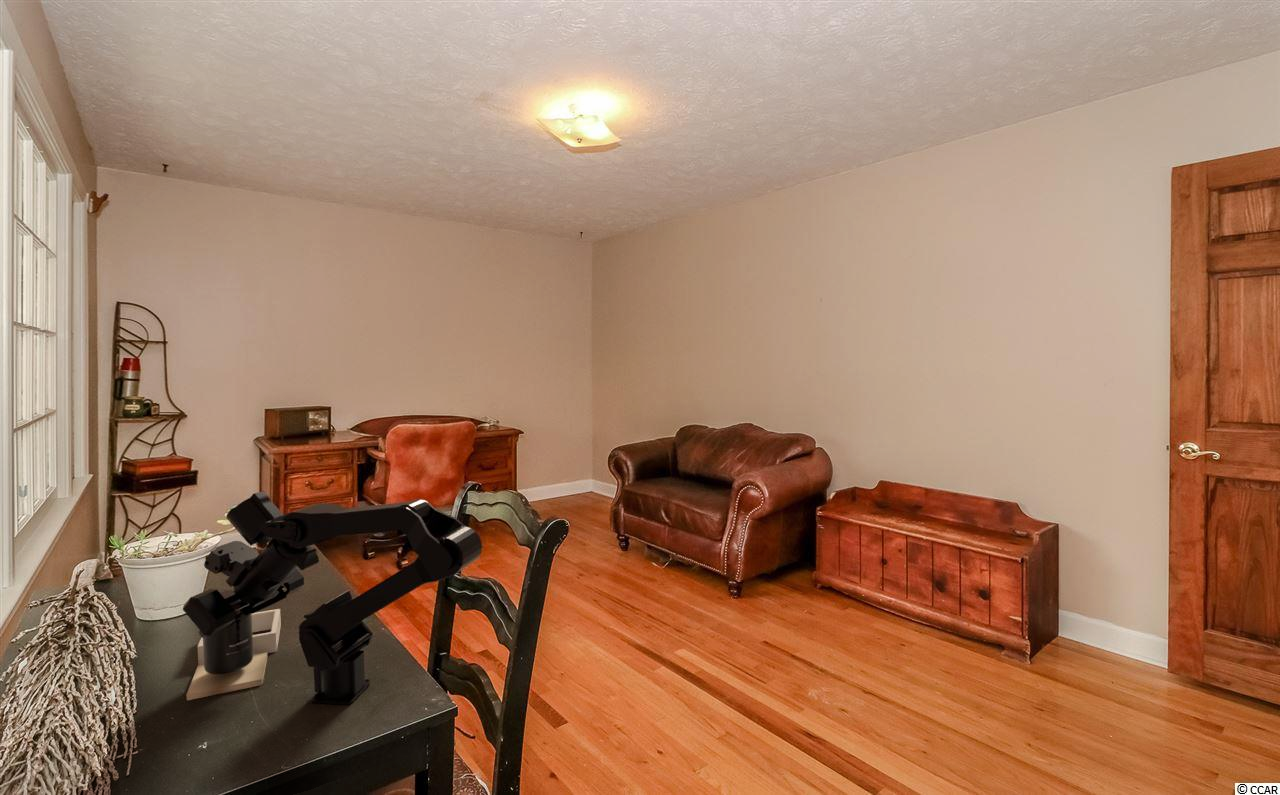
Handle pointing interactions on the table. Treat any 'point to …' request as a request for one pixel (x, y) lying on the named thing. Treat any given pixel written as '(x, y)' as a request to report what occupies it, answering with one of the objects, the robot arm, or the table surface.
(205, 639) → the supplement bottle
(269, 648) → the white open box
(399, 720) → the table surface
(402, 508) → the robot arm
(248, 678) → the birch pad
